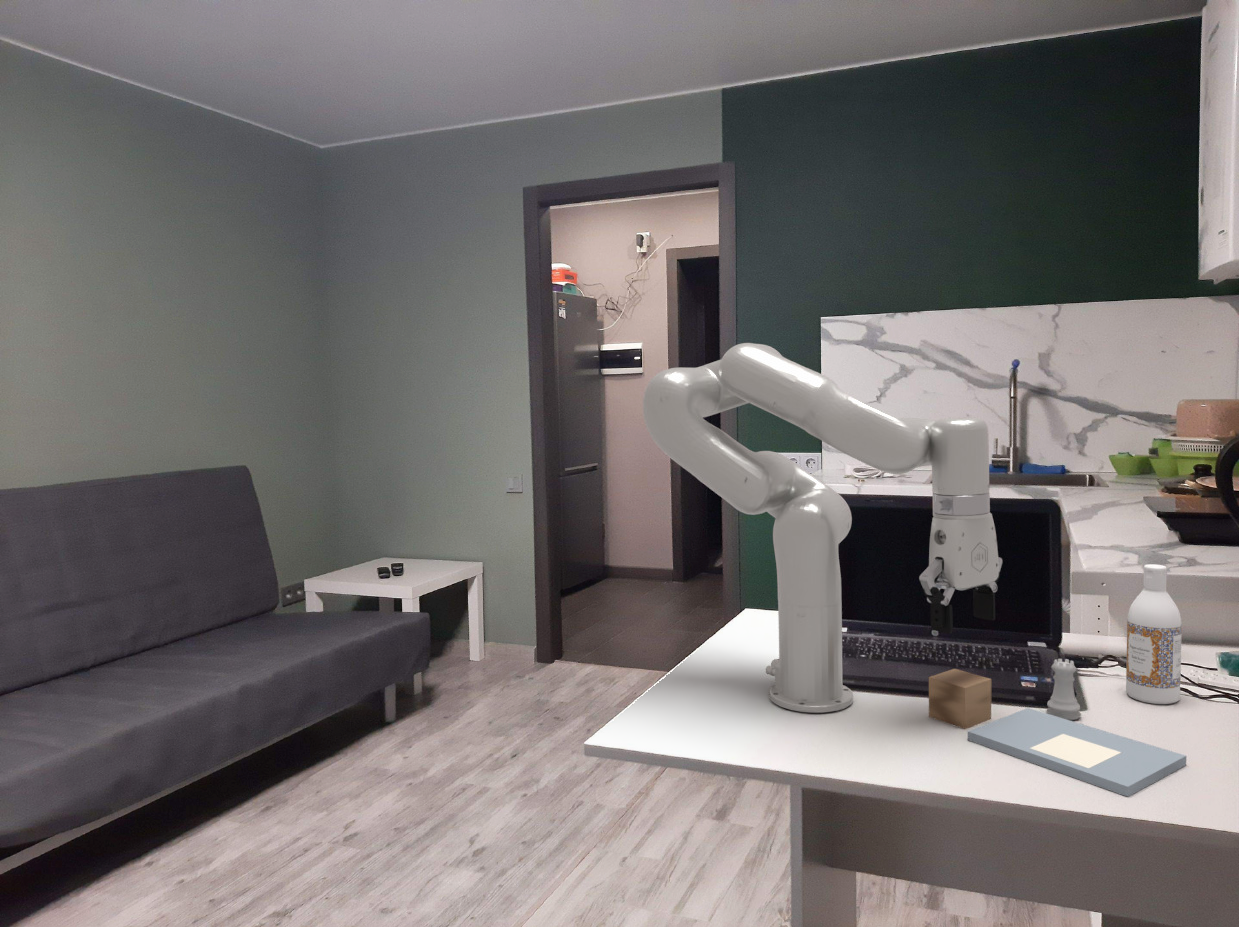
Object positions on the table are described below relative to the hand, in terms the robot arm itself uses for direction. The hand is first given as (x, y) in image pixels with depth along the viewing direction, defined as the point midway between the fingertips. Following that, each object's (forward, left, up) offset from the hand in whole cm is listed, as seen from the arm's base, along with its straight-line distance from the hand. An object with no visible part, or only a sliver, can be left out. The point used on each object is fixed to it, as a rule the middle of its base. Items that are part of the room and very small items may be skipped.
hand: (963, 624), depth 126 cm
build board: (+16, +1, -14) cm, 21 cm away
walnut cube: (0, 0, -14) cm, 14 cm away
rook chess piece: (+8, +12, -14) cm, 20 cm away
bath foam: (+12, +29, -14) cm, 34 cm away
